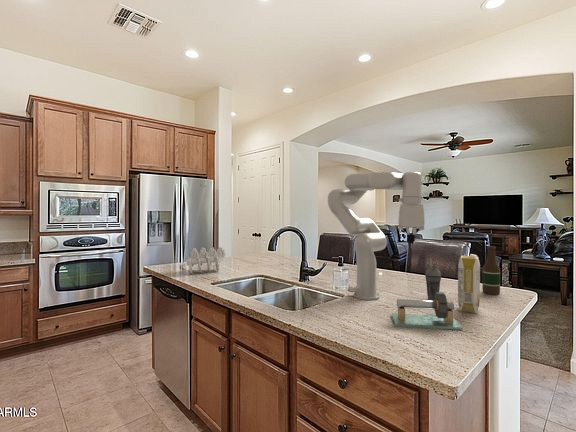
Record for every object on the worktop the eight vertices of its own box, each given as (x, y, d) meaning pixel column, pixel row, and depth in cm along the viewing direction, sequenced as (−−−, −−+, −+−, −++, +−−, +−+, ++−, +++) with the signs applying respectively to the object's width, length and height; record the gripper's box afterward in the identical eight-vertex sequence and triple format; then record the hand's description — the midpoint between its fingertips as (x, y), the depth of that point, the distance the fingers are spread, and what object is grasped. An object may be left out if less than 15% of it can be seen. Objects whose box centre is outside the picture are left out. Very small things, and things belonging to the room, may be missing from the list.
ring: (440, 320, 118) (440, 296, 118) (433, 312, 127) (433, 290, 126) (447, 321, 117) (447, 296, 117) (440, 313, 126) (440, 290, 126)
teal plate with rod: (395, 326, 119) (395, 302, 119) (391, 315, 131) (391, 294, 131) (462, 330, 115) (462, 306, 115) (452, 318, 127) (452, 296, 127)
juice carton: (479, 314, 132) (479, 256, 131) (457, 311, 136) (457, 254, 135) (479, 308, 139) (480, 253, 139) (459, 305, 144) (459, 252, 143)
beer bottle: (483, 294, 162) (484, 246, 161) (481, 290, 169) (481, 245, 169) (501, 295, 159) (502, 247, 158) (498, 291, 166) (498, 245, 166)
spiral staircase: (186, 278, 222) (222, 273, 233) (190, 271, 207) (228, 266, 219) (183, 253, 228) (217, 249, 240) (186, 245, 213) (223, 241, 225)
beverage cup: (443, 302, 149) (443, 259, 149) (426, 301, 151) (426, 258, 150) (439, 297, 156) (439, 256, 156) (423, 297, 158) (423, 256, 157)
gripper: (394, 201, 136) (393, 244, 137) (432, 201, 133) (431, 245, 133) (392, 201, 143) (391, 241, 144) (428, 201, 140) (427, 243, 141)
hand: (410, 243), depth 139 cm, fingers closed
